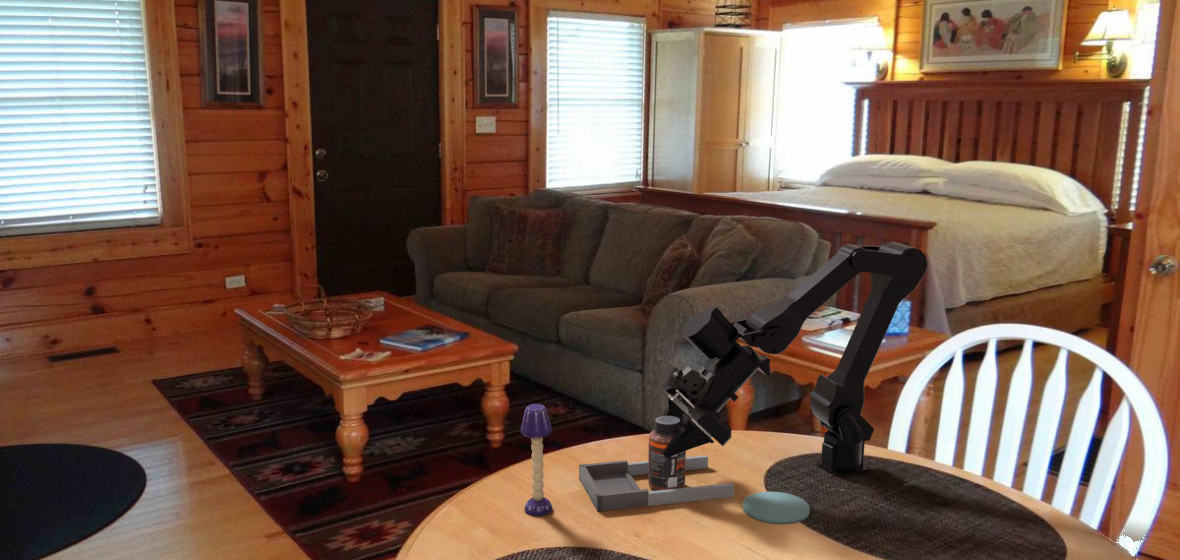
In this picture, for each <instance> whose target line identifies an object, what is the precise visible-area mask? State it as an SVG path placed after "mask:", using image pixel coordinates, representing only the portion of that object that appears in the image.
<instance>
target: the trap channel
mask: <svg viewBox="0 0 1180 560" xmlns="http://www.w3.org/2000/svg"><path fill="white" fill-rule="evenodd" d="M685 467H686V469H685V471H693V470H704V469H708V468H709V456H708V455H707V454H704V455H696V456H694V455H693V456H687V457H686V465H685ZM578 468H579V469H578V472H579V473H578V479H579V481H580V484H581V485H582V487H583V488H584V490H585V492H586V494H587V497H589V499H590V501H591V503H592V504H593V506H594V508H595V510H596V512H599V513H600V512H605V511H615V510H617V511H618V510H625V509H626V510H627V509H634V508H641V507H651V506H652V507H653V506H660V505H669V504H680V503H689V502H697V501H709V500H714V499H715V500H716V499H725V498H734V496H735V484H734V483H733V482H726V483H719V484H718V483H717V484H707V485H699V486H697V485H696V486H690V487H689V486H688V487H687V486H686V487H684V488H678V489H668V490H659V491H656V490H651V491H649V489H648V488H641V487H640V486H639V485H638V483H637V482H636V481H635V479H634V476H642V475H644V476H645V475H648V460H645V461H644V460H643V461H634V462H628V461H627V459H626V460H625V459H624V460H614V461H613V460H612V461H606V462H605V461H604V462H603V461H602V462H595V463H594V462H593V463H583V464H582V463H581V464H579V465H578Z"/></svg>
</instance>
